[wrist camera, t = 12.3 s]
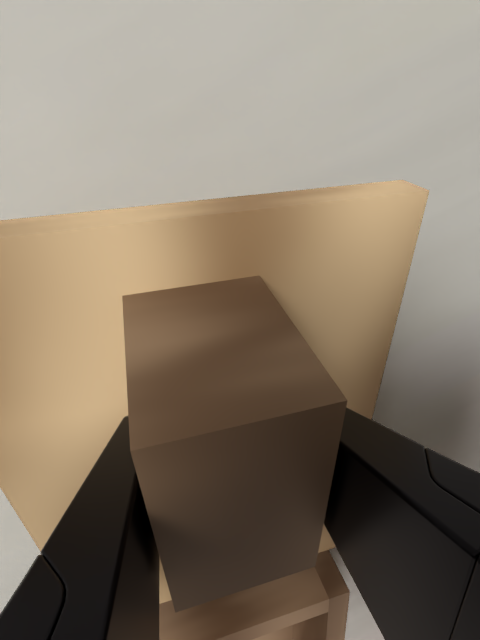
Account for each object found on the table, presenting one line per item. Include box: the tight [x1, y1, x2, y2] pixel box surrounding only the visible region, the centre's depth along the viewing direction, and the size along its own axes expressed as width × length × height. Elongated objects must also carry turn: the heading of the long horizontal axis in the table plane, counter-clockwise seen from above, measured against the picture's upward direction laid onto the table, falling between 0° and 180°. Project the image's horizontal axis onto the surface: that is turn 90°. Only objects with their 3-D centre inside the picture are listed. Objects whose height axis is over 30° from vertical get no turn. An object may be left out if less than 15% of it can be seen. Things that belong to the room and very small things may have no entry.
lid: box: [0, 180, 429, 613], centre depth 11 cm, size 11×16×5 cm
